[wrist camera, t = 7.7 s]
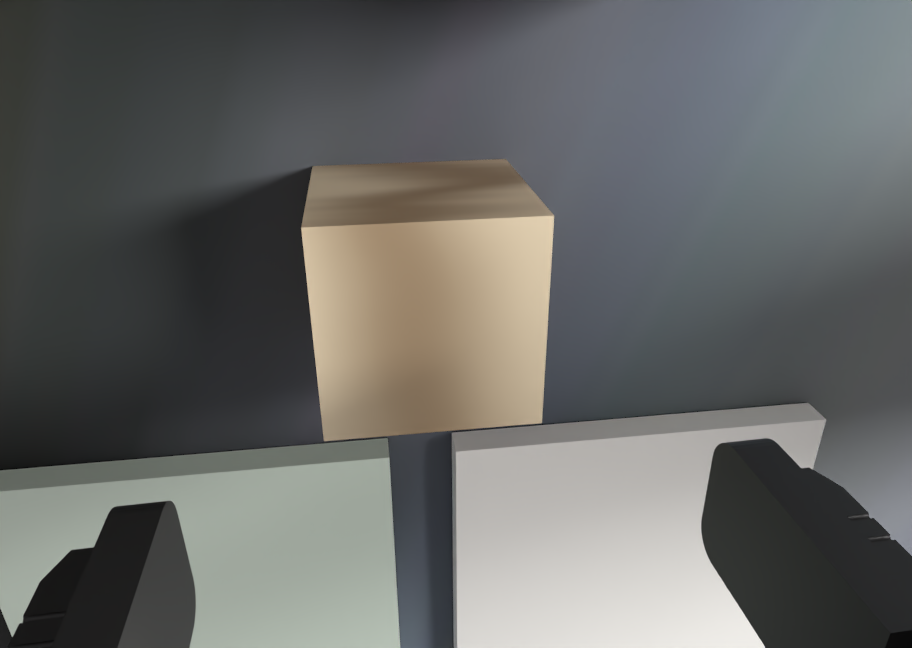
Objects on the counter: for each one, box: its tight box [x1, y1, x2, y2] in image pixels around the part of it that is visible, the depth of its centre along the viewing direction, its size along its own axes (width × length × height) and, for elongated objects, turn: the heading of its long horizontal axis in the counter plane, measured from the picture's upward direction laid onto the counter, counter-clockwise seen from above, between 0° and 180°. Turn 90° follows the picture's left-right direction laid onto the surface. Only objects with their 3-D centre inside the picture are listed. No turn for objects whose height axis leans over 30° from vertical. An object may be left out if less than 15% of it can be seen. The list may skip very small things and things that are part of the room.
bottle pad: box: [0, 438, 400, 648], centre depth 23 cm, size 12×12×1 cm
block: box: [301, 159, 554, 441], centre depth 17 cm, size 5×5×5 cm
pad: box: [452, 403, 826, 648], centre depth 25 cm, size 12×12×1 cm
